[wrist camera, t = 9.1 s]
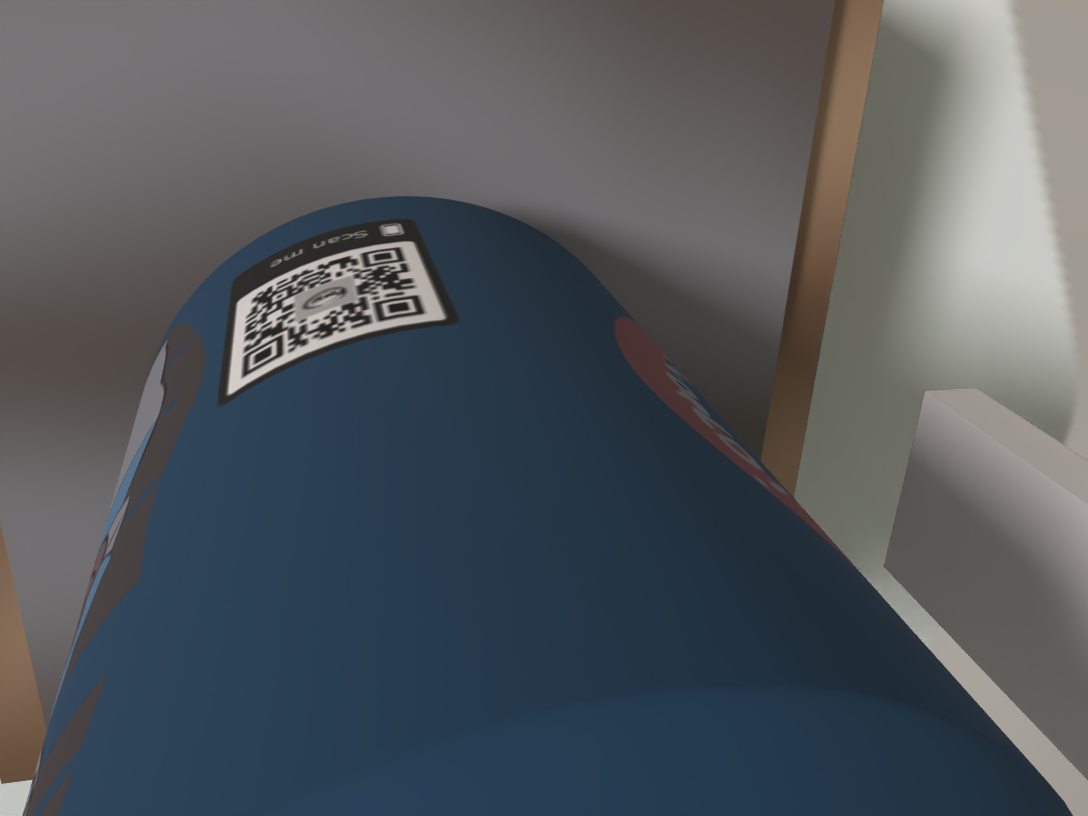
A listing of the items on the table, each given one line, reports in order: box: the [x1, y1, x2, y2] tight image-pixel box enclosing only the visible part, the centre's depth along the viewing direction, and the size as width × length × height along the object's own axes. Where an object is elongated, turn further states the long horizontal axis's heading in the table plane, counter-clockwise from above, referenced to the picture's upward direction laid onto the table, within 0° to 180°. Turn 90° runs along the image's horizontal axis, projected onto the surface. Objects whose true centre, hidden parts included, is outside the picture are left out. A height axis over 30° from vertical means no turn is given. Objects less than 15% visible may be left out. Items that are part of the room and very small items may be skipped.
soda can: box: [23, 196, 1073, 816], centre depth 9 cm, size 7×7×12 cm
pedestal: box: [0, 0, 883, 784], centre depth 17 cm, size 14×14×6 cm
